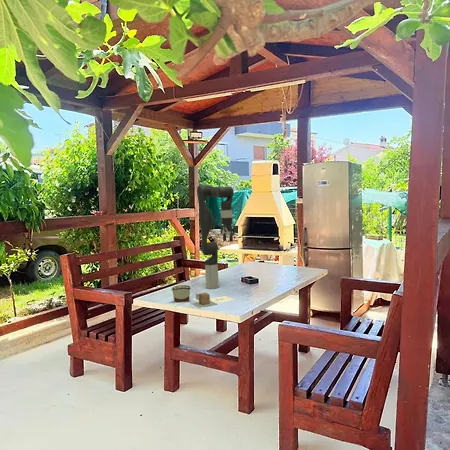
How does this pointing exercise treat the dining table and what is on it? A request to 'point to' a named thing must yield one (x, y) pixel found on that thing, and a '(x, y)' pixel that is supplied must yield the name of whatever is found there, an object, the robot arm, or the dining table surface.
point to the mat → (204, 305)
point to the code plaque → (221, 299)
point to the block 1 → (198, 295)
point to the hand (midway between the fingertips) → (227, 241)
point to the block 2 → (204, 298)
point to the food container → (181, 293)
